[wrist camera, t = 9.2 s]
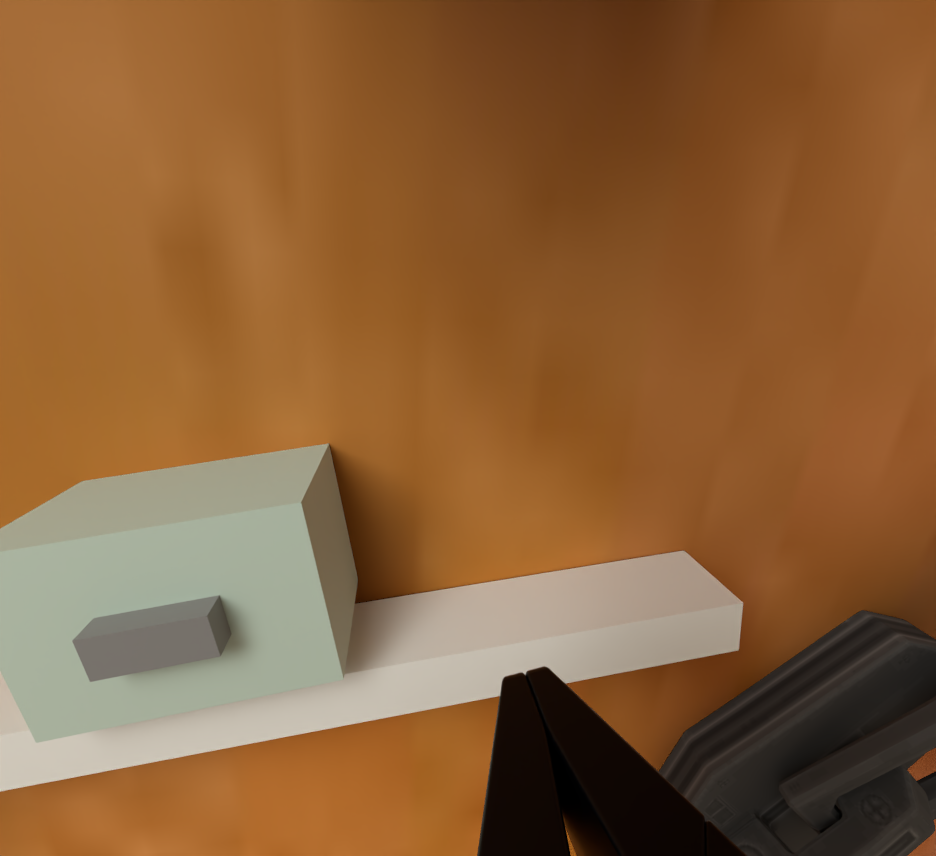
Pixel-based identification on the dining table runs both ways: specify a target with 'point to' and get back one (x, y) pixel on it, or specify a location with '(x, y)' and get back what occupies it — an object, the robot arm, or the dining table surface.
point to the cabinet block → (176, 591)
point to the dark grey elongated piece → (822, 748)
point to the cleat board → (429, 661)
